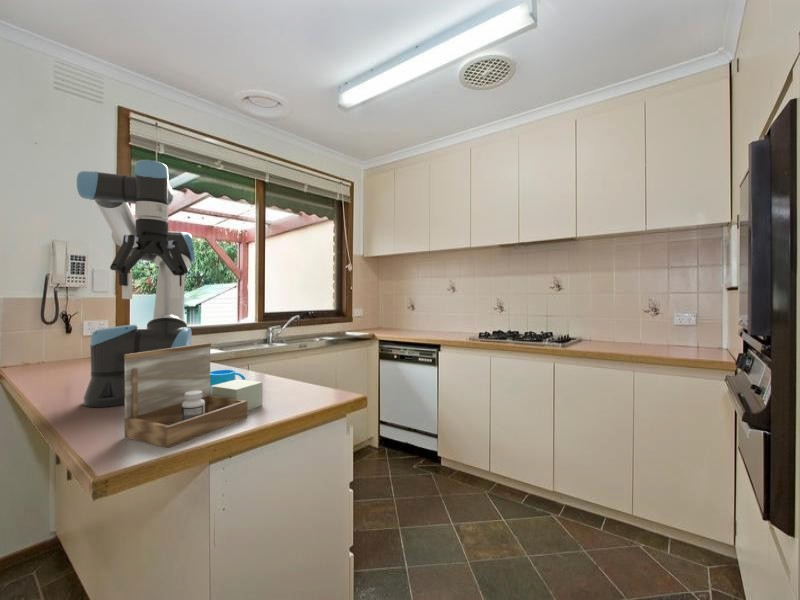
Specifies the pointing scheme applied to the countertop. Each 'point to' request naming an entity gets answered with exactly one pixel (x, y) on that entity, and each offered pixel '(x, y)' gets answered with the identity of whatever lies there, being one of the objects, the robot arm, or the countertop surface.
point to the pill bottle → (192, 405)
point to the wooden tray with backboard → (173, 396)
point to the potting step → (240, 391)
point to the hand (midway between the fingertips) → (152, 298)
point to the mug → (223, 377)
